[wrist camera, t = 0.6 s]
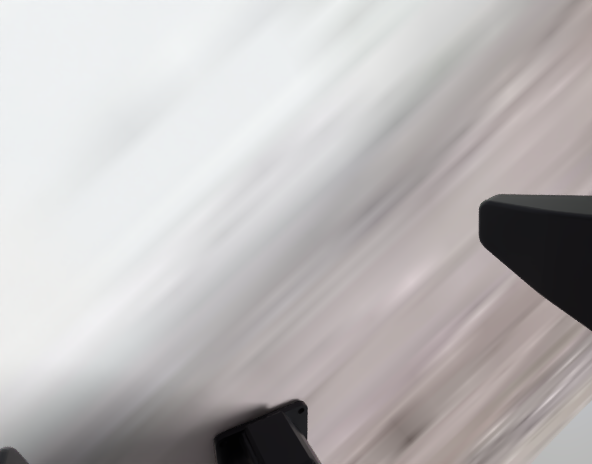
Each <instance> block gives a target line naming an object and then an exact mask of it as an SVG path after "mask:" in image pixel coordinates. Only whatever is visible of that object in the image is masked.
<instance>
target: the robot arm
mask: <svg viewBox="0 0 592 464" xmlns="http://www.w3.org/2000/svg"><path fill="white" fill-rule="evenodd" d="M479 239H480V242H481V243H482V245H483V246H484V247H485V248H486V249H487V250H488V251H489V252H491V253H492V254H493V255H494V256H495V257H496V258H498V259H499V260H500V261H501V262H502V263H504V264H505V265H506V266H507V267H508V268H509V269H511V270H512V271H513V272H514V273H515V274H516V275H518V276H519V277H520V278H521V279H522V280H524V281H525V282H526V283H527V284H528V285H529V286H531V287H532V288H533V289H534V290H536V291H537V292H538V293H539V294H540V295H542V296H543V297H545V298H546V299H547V300H549V301H550V302H551V303H553V304H554V305H556V306H557V307H558V308H560V309H561V310H563V311H564V312H565V313H567V314H568V315H570V316H571V317H573V318H574V319H575V320H577V321H578V322H580V323H581V324H582V325H584V326H585V327H587V328H588V329H589V330H591V331H592V196H578V195H516V194H499V195H495V196H493V197H491V198H489V199H487V200H485V201H483V202H482V203H481V205H480V207H479ZM307 415H308V408H307V405H306V404H305V402H303V401H298V402H296V403H293V404H291V405H288V406H286V407H284V408H281V409H279V410H276V411H274V412H272V413H269V414H267V415H264V416H262V417H260V418H257V419H255V420H252V421H250V422H248V423H245V424H243V425H240V426H238V427H235V428H233V429H231V430H228V431H226V432H223V433H221V434H219V435H218V436H216V437H215V439H214V450H215V458H216V464H321V462H320V461H319V459H318V457H317V456H316V454H315V453H314V451H313V449H312V448H311V446H310V445H309V443H308V441H307ZM0 464H29V463H28V462H27V461H26V460H25V459H24V458H23V457H22V456H21V454H20V453H19V452H18V451H17V450H16V449H14V448H13V447H3V448H1V449H0Z"/></svg>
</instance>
